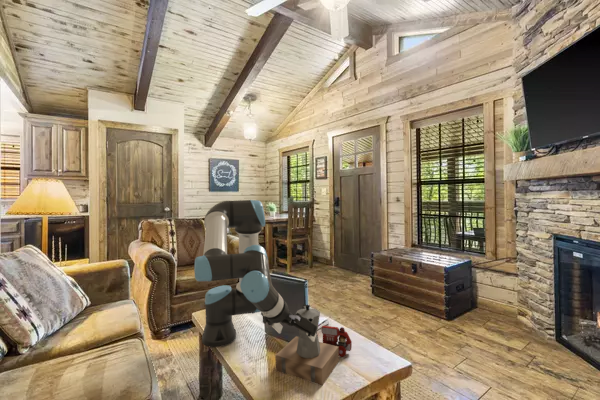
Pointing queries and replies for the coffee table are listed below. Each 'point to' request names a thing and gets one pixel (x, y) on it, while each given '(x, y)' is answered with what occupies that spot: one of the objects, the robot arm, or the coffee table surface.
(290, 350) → the brown wooden block
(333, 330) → the toy fire truck
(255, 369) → the coffee table surface
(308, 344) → the coffeepot
